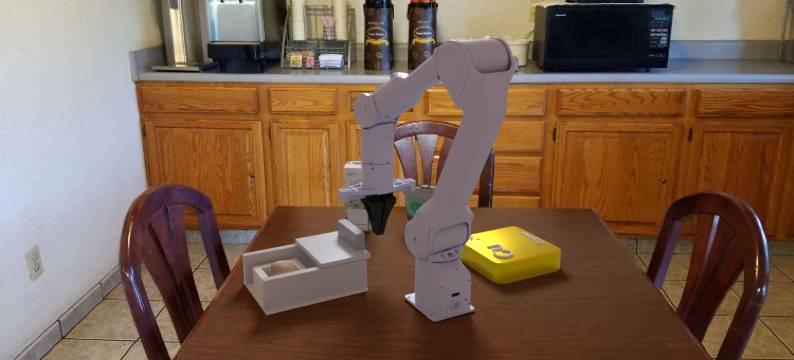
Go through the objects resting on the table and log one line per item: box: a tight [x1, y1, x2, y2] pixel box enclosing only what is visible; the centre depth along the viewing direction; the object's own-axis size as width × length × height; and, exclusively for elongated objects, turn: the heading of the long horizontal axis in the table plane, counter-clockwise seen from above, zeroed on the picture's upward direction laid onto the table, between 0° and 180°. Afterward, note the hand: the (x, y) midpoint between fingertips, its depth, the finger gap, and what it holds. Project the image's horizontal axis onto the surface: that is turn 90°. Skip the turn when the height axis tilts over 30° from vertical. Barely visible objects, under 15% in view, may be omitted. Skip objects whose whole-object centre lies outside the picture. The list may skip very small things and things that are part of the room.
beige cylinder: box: [271, 260, 295, 276], centre depth 108 cm, size 4×4×4 cm
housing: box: [241, 243, 369, 316], centre depth 110 cm, size 13×18×6 cm
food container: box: [401, 183, 437, 223], centre depth 136 cm, size 12×6×10 cm, turn 73°
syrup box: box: [343, 160, 372, 233], centre depth 137 cm, size 6×6×14 cm
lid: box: [294, 218, 372, 268], centre depth 111 cm, size 12×9×4 cm
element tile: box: [460, 225, 562, 285], centre depth 121 cm, size 15×15×5 cm
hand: (378, 233), depth 115 cm, fingers closed
